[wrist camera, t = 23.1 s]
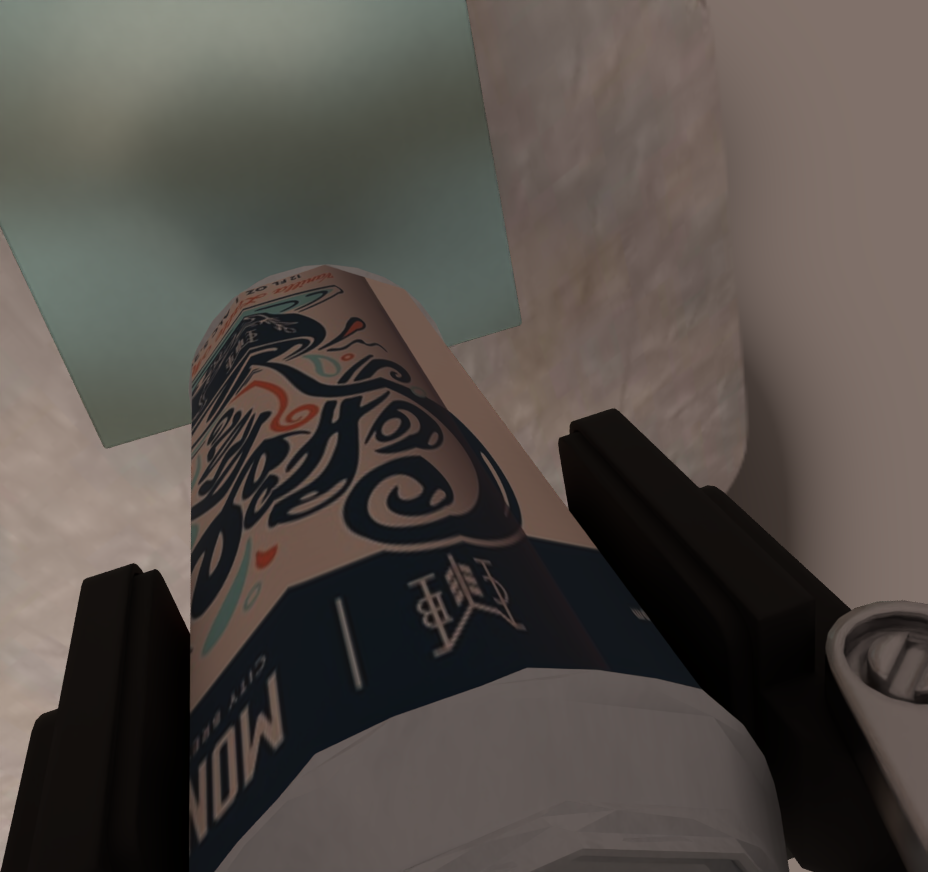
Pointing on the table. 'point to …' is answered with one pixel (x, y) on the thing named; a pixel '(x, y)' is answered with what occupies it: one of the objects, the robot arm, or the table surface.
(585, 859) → the beer can
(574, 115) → the table surface
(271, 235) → the lid
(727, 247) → the table surface
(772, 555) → the robot arm
